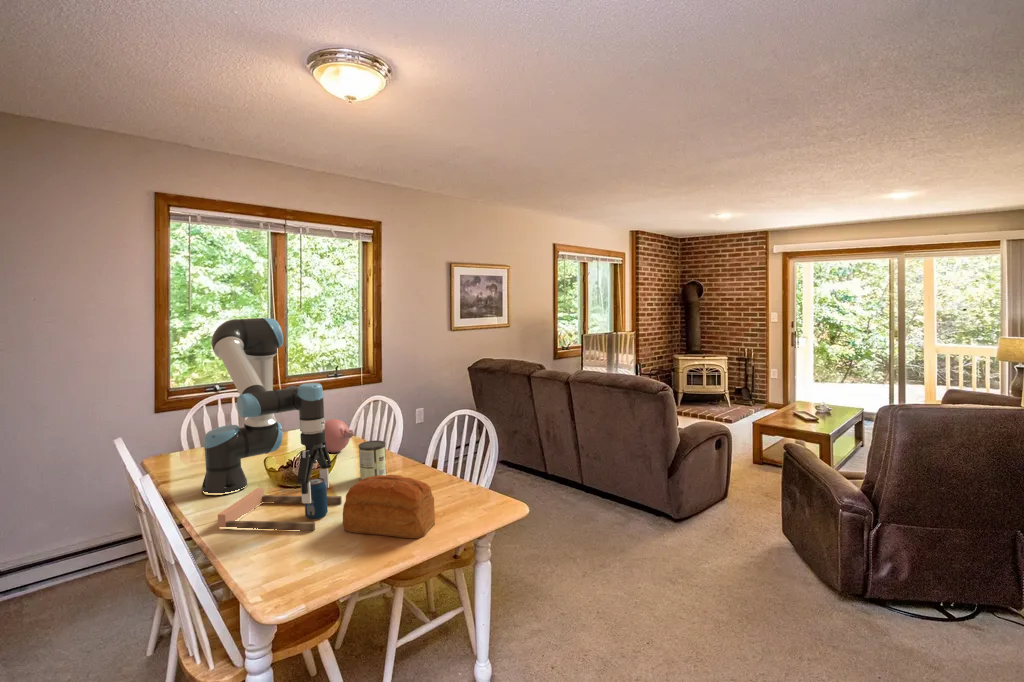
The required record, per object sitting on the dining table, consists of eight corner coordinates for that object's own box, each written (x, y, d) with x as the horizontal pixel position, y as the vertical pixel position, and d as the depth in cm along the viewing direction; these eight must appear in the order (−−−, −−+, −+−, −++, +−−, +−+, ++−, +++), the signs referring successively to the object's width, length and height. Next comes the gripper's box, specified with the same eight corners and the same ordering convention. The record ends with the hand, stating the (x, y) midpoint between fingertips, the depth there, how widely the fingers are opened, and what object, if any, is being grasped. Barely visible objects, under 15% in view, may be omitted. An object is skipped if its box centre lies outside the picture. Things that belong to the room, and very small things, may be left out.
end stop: (218, 530, 164) (217, 514, 164) (257, 501, 186) (257, 488, 186) (226, 530, 164) (225, 514, 163) (264, 502, 186) (263, 488, 186)
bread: (419, 542, 154) (417, 490, 153) (337, 534, 160) (335, 483, 159) (439, 519, 170) (438, 472, 168) (364, 513, 176) (362, 466, 175)
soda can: (327, 510, 178) (325, 476, 177) (328, 518, 171) (326, 482, 170) (305, 514, 175) (303, 479, 174) (305, 522, 169) (303, 485, 168)
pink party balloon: (341, 460, 233) (339, 426, 232) (308, 454, 242) (307, 421, 241) (365, 450, 247) (364, 418, 245) (333, 445, 256) (332, 414, 254)
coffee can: (365, 474, 214) (364, 440, 213) (390, 474, 213) (389, 440, 212) (355, 482, 204) (354, 447, 203) (381, 483, 203) (380, 447, 202)
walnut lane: (226, 530, 164) (225, 522, 164) (264, 502, 186) (264, 495, 186) (313, 531, 162) (313, 523, 162) (341, 503, 184) (341, 496, 184)
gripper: (306, 441, 158) (310, 510, 160) (339, 422, 183) (342, 481, 185) (282, 441, 159) (286, 509, 160) (318, 422, 184) (321, 481, 185)
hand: (316, 495), depth 173 cm, fingers open, 13 cm apart
